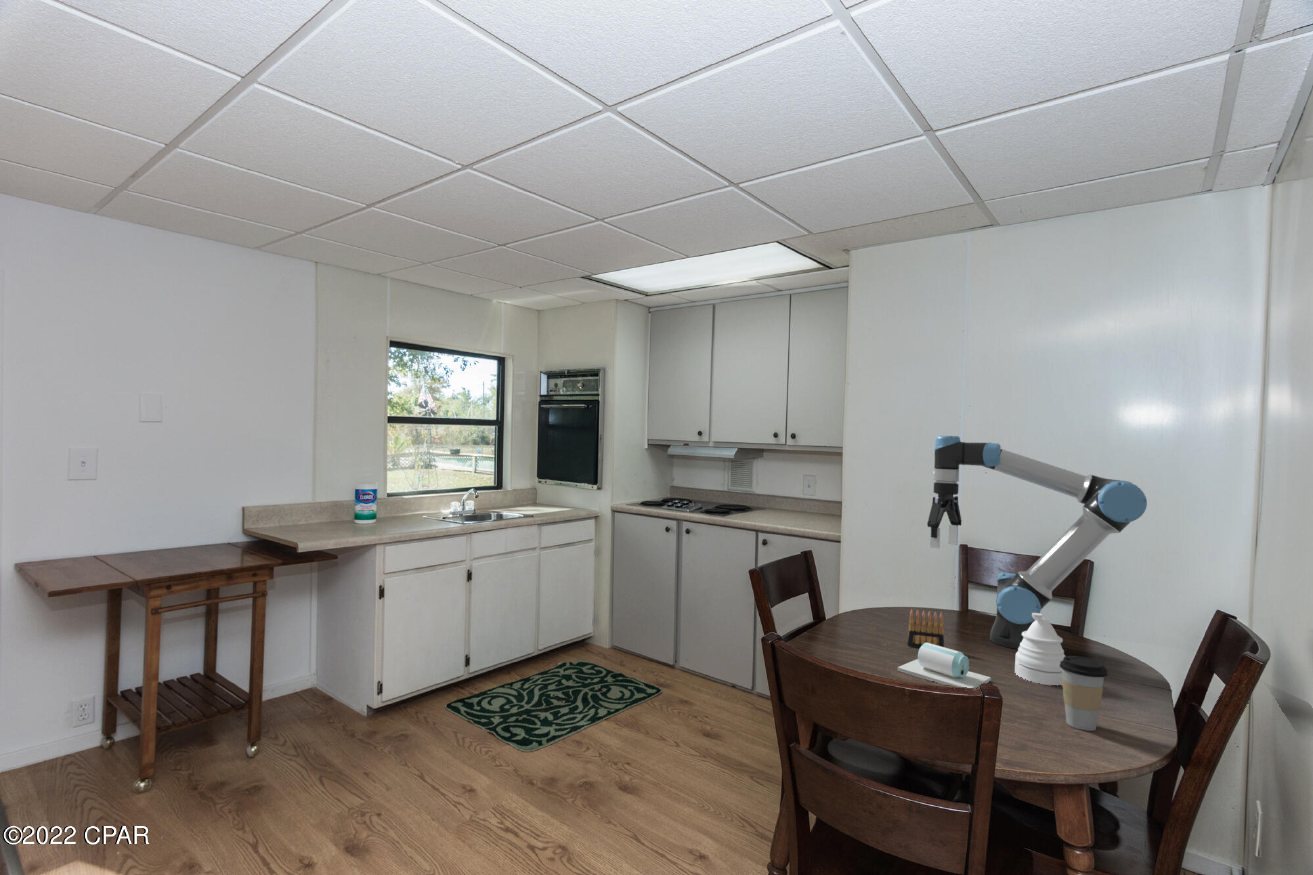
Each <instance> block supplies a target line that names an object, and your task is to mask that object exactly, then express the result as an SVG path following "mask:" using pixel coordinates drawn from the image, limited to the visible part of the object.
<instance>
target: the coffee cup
mask: <svg viewBox="0 0 1313 875" xmlns="http://www.w3.org/2000/svg"><path fill="white" fill-rule="evenodd" d="M1059 666H1060V667H1061V668H1062V675H1063V677H1062V684H1063V685H1062V694H1063V696H1062V697H1063V702H1064V711H1065V722H1066V723H1067V725H1068V726H1070V727H1072V728H1073V729H1077V730H1081V731H1087V732H1093V731H1096V729H1097V724H1098V718H1099V711H1100V709H1101V703H1102V699H1103V691H1104V678H1105V677H1108V675H1109V674H1108V670H1107V669H1106V668H1105V665H1104V663H1102V662H1100V661H1099V660H1097V659H1092V658H1088V657H1086V656H1085V657H1083V656H1079V655H1065V657H1064V659H1063V661H1061V662H1060V665H1059Z"/></svg>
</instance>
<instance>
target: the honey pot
mask: <svg viewBox="0 0 1313 875" xmlns="http://www.w3.org/2000/svg"><path fill="white" fill-rule="evenodd" d="M1032 617H1033V619H1034V620H1035V621H1034V622H1033V623H1032V624H1031V626H1030V627H1029V629H1028V630H1027V631H1024V632H1022V636H1023V637H1024V638H1023V640H1022V642H1021V643H1020V647H1019V648H1018V649H1017V652H1016V653H1015V658H1014V659H1015V661H1014V674H1015V673H1016V674H1015V675H1016V676H1017V675H1018V676H1019V678H1020V677H1022V678H1023V680H1025V679H1026V680H1025V681H1027V680H1028V681H1027V682H1030V681H1032V682H1031V683H1035V684H1038V683H1040V684H1039V685H1045V686H1051V685H1057V686H1056V687H1059V686H1058V685H1061V686H1063V684H1062V677H1063V675H1062V668H1061V667H1060V666H1059V665H1060V662H1061V661H1063V659H1064V657H1066V655H1065V650H1064V649H1063V647H1062V643H1063V641H1064V639H1063V637H1061V636H1059V635H1058V633H1057V632H1056V630H1055V629H1054V627H1053V625H1052V624H1051V623H1050V622H1049V620H1048V619H1046V618H1044V617H1043V614H1042V613H1040V614H1039V613H1032ZM1018 676H1017V677H1018ZM1022 678H1021V679H1022Z"/></svg>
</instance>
